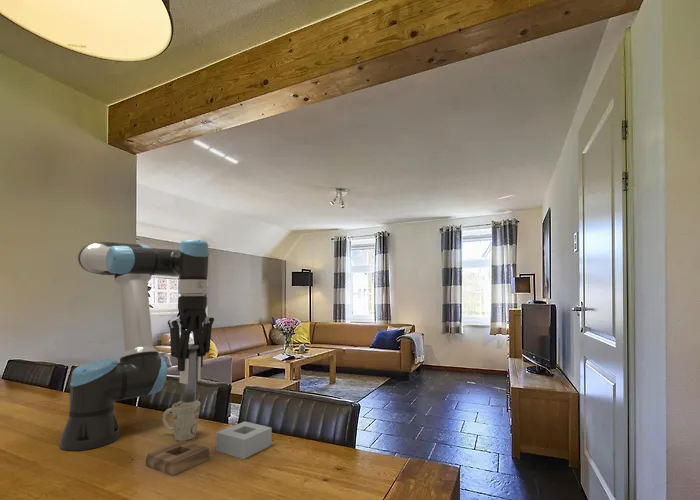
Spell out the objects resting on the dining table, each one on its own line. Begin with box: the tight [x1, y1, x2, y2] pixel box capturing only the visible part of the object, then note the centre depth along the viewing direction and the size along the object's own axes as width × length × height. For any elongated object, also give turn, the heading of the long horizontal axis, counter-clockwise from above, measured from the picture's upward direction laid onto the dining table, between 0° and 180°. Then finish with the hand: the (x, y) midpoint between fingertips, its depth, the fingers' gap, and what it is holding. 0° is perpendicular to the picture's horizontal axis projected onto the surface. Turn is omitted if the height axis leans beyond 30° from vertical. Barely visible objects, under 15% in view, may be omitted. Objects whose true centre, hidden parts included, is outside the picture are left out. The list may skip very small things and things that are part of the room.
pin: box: [182, 343, 199, 403], centre depth 109 cm, size 4×4×15 cm
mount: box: [145, 440, 210, 477], centre depth 106 cm, size 11×11×3 cm
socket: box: [215, 421, 273, 460], centre depth 116 cm, size 11×11×5 cm
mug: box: [162, 400, 201, 442], centre depth 125 cm, size 8×13×10 cm, turn 78°
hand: (189, 381), depth 109 cm, fingers closed on pin, 3 cm apart
